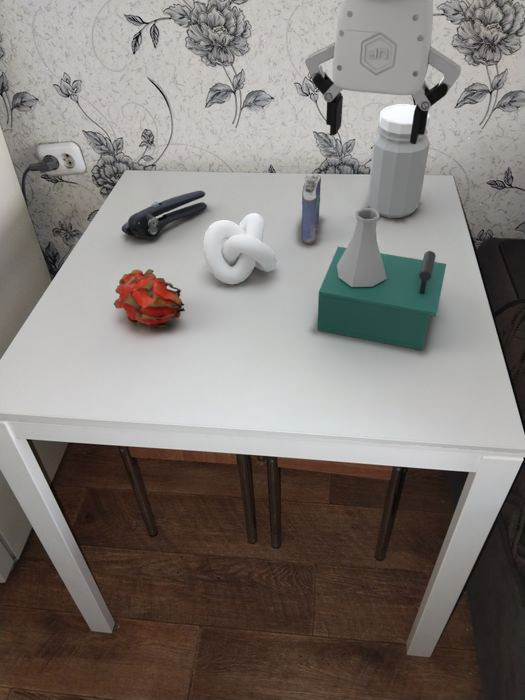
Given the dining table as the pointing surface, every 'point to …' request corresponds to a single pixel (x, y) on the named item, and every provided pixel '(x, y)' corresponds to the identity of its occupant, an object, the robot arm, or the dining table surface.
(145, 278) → the dragon fruit
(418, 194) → the jar
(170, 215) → the can opener
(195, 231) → the dining table surface
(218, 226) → the white decorative knot
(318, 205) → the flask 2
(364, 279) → the flask
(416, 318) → the box
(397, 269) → the lunchbox lid
